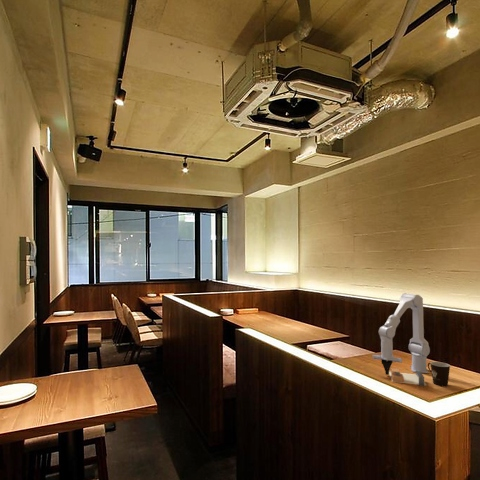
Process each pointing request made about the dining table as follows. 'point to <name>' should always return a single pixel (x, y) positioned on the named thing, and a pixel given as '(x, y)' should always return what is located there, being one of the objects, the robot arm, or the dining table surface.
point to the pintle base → (407, 378)
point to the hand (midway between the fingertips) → (387, 374)
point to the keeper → (420, 378)
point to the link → (396, 378)
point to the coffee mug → (440, 373)
